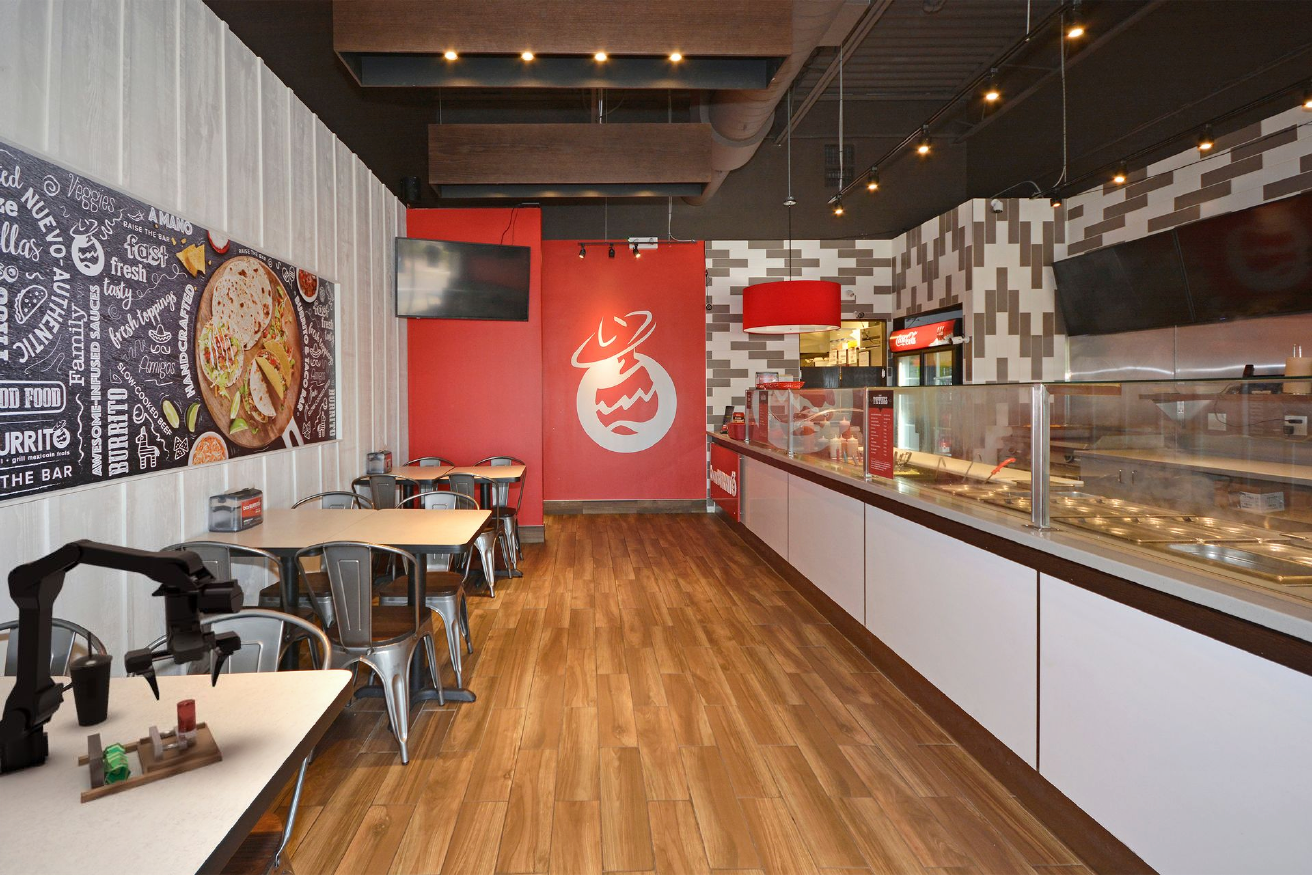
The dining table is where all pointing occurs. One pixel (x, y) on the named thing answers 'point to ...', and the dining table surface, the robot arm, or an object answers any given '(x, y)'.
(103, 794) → the wooden vise
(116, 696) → the dining table surface
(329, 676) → the dining table surface
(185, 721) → the lever
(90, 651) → the drinking cup
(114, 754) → the candy
